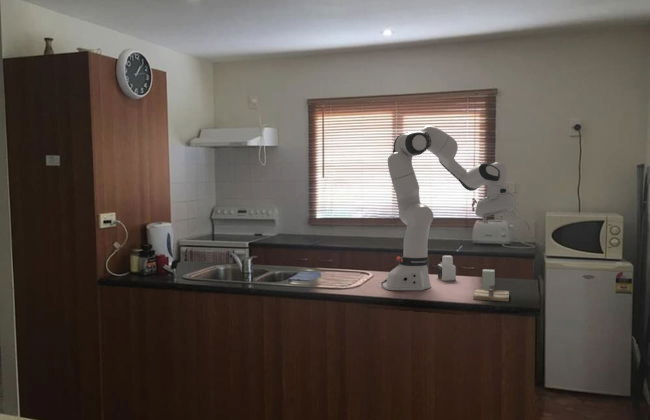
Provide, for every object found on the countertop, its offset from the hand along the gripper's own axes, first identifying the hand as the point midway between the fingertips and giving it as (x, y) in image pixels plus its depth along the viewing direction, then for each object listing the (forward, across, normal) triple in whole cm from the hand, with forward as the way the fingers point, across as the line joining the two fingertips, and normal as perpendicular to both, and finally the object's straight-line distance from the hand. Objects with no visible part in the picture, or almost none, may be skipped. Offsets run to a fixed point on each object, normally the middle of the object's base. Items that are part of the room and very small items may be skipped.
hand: (494, 221), depth 261 cm
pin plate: (+39, +6, -6) cm, 40 cm away
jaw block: (+32, -2, +3) cm, 32 cm away
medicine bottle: (+23, -30, +7) cm, 39 cm away
